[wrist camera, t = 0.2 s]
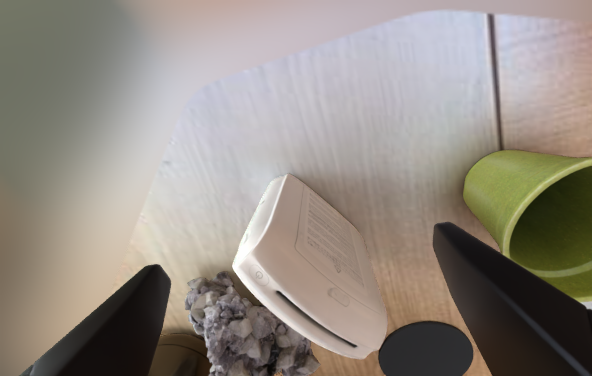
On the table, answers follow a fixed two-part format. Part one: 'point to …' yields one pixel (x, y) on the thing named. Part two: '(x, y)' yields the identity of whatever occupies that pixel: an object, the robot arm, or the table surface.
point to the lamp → (180, 356)
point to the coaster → (426, 351)
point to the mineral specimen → (245, 333)
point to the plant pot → (538, 214)
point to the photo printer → (312, 270)
